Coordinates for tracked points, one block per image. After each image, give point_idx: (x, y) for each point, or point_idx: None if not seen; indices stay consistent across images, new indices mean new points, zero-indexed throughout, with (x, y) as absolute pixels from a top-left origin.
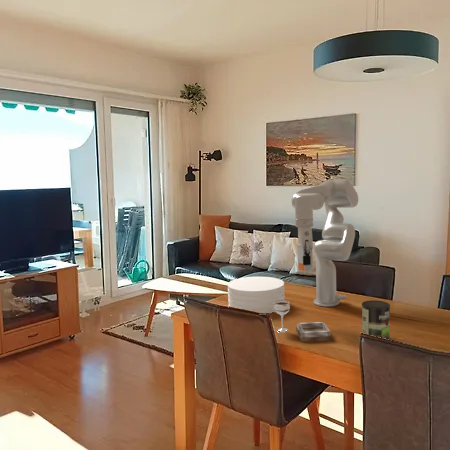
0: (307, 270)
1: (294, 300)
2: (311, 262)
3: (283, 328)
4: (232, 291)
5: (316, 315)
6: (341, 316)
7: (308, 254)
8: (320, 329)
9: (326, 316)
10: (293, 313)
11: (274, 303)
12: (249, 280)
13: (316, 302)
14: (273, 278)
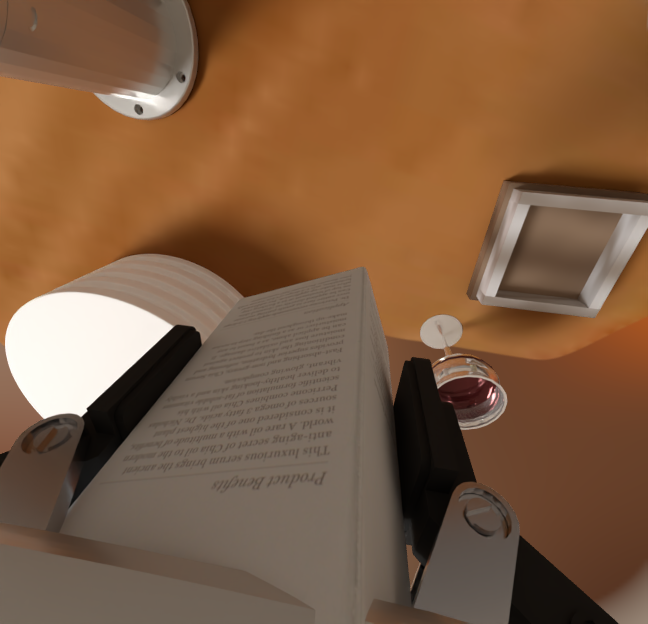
0: (383, 335)
1: (109, 201)
2: (370, 336)
3: (444, 332)
4: None
5: (317, 161)
6: (360, 19)
7: (539, 567)
8: (540, 216)
9: (341, 113)
10: (277, 251)
11: (465, 428)
12: (83, 410)
13: (159, 110)
14: (28, 320)
